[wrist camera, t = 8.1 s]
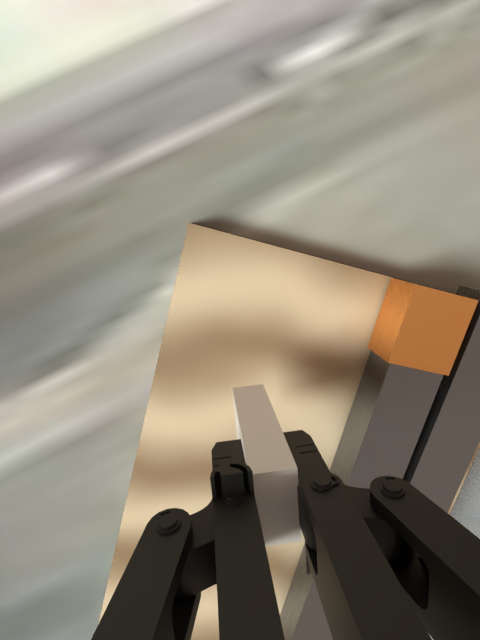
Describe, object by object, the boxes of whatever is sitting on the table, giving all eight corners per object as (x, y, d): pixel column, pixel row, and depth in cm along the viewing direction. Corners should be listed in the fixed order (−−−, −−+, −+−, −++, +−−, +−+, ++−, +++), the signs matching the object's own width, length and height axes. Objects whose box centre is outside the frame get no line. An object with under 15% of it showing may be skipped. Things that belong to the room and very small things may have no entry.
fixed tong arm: (357, 646, 27) (371, 682, 25) (318, 642, 26) (328, 679, 24) (506, 298, 21) (540, 306, 19) (459, 286, 21) (489, 293, 18)
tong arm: (310, 658, 26) (322, 706, 24) (261, 654, 26) (267, 703, 23) (449, 292, 20) (485, 302, 18) (389, 277, 20) (417, 285, 17)
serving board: (368, 652, 29) (376, 675, 28) (99, 625, 26) (93, 649, 24) (517, 310, 23) (538, 316, 22) (189, 223, 20) (188, 222, 18)
